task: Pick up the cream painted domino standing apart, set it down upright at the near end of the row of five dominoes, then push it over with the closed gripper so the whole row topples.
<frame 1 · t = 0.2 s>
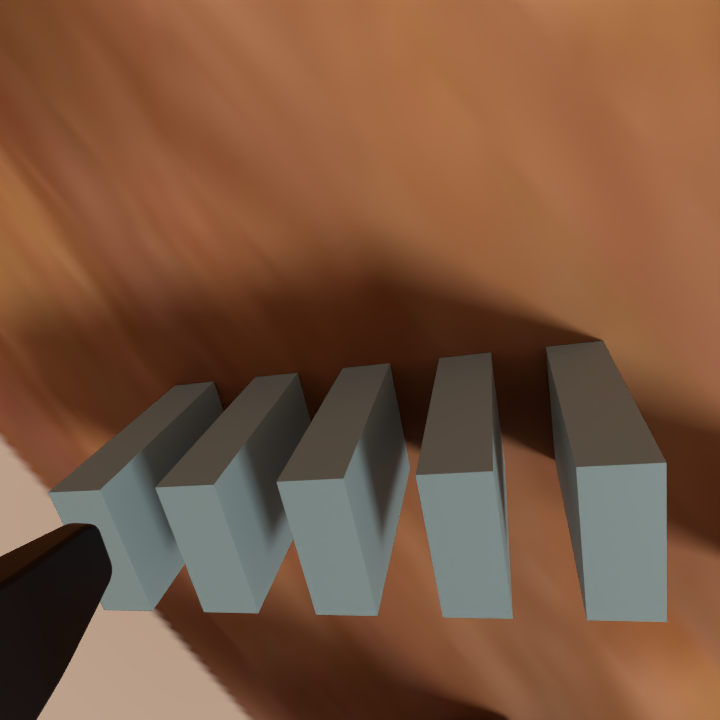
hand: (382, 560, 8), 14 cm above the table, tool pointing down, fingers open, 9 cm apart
domino 2: (577, 403, 21), on the table
domino 6: (210, 432, 26), on the table
domino 3: (472, 411, 22), on the table
domino 4: (377, 419, 23), on the table
domino 5: (290, 426, 25), on the table
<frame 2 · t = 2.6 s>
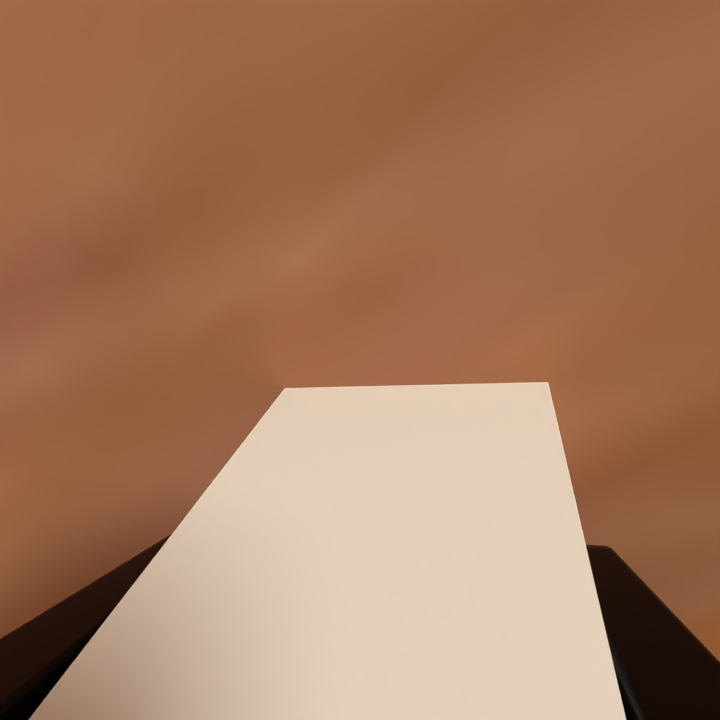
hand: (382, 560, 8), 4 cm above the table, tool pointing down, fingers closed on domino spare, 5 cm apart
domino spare: (413, 431, 11), on the table, touching gripper
when the fingers open (4 cm above the table, at t = 6.0 s): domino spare stays where it is, on the table.
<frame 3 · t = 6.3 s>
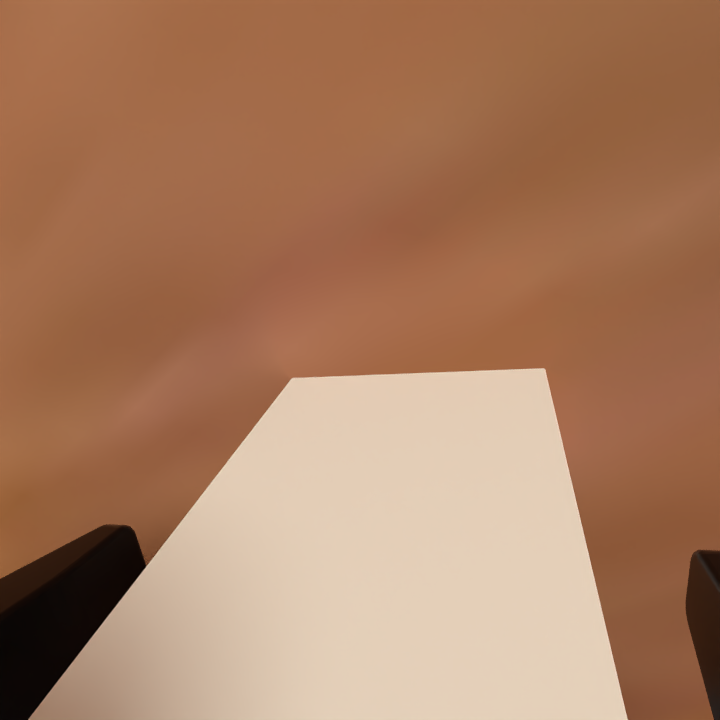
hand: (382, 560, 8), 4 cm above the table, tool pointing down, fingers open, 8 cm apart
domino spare: (416, 418, 11), on the table
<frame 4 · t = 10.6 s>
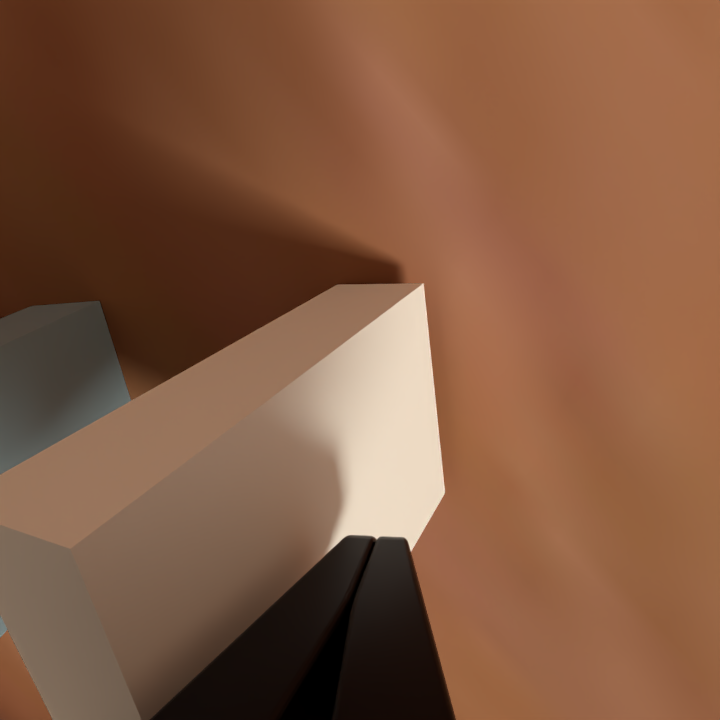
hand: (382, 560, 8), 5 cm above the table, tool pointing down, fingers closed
domino 2: (95, 394, 15), on the table
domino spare: (393, 392, 12), on the table, tilted 15°
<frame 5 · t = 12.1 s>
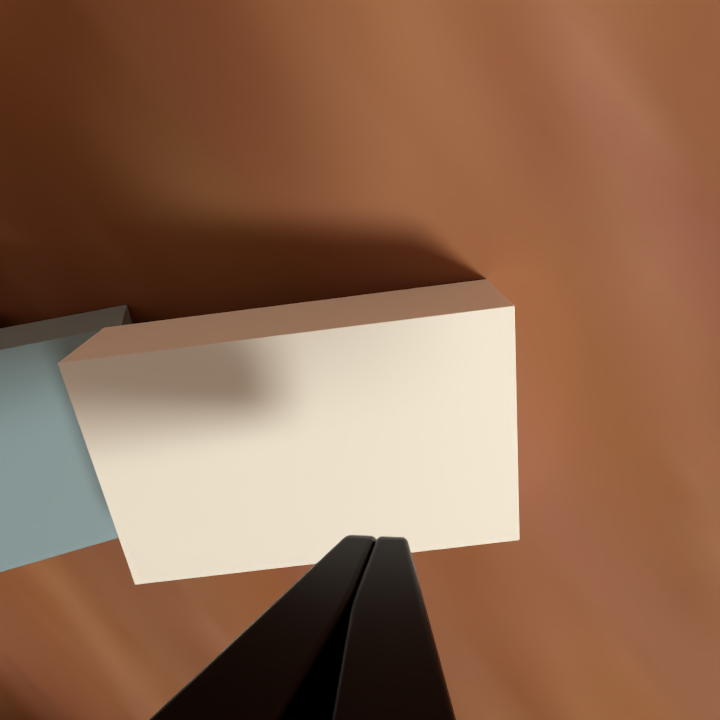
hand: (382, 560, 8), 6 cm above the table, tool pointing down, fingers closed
domino 2: (152, 412, 13), point 1 cm above the table, tilted 59°, touching domino 3, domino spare
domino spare: (503, 409, 11), point 1 cm above the table, tilted 76°, touching domino 2
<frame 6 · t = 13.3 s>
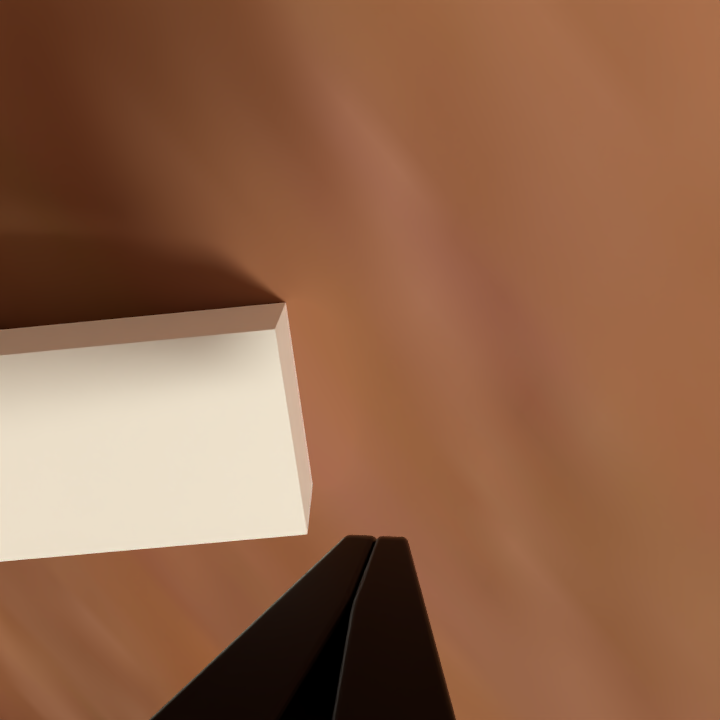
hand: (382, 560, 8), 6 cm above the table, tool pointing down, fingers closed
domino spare: (296, 418, 13), point 1 cm above the table, tilted 77°, touching domino 2
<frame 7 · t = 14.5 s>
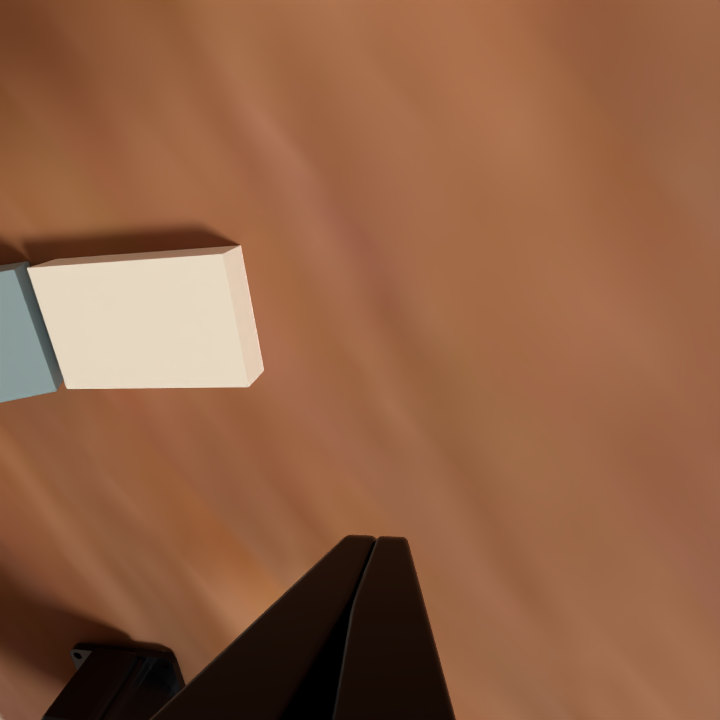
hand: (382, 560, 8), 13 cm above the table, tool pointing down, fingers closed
domino 2: (42, 326, 22), point 1 cm above the table, tilted 62°, touching domino 3
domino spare: (247, 314, 21), point 1 cm above the table, tilted 90°
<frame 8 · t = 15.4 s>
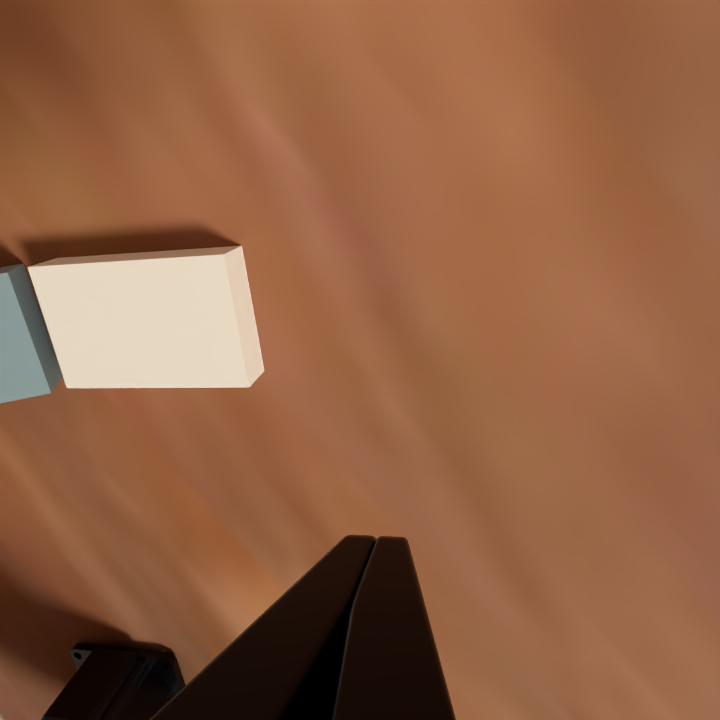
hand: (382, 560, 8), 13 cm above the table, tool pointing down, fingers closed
domino 2: (37, 328, 22), point 1 cm above the table, tilted 63°, touching domino 3
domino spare: (247, 315, 21), point 1 cm above the table, tilted 90°
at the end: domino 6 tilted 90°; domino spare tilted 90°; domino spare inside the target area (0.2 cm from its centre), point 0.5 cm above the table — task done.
